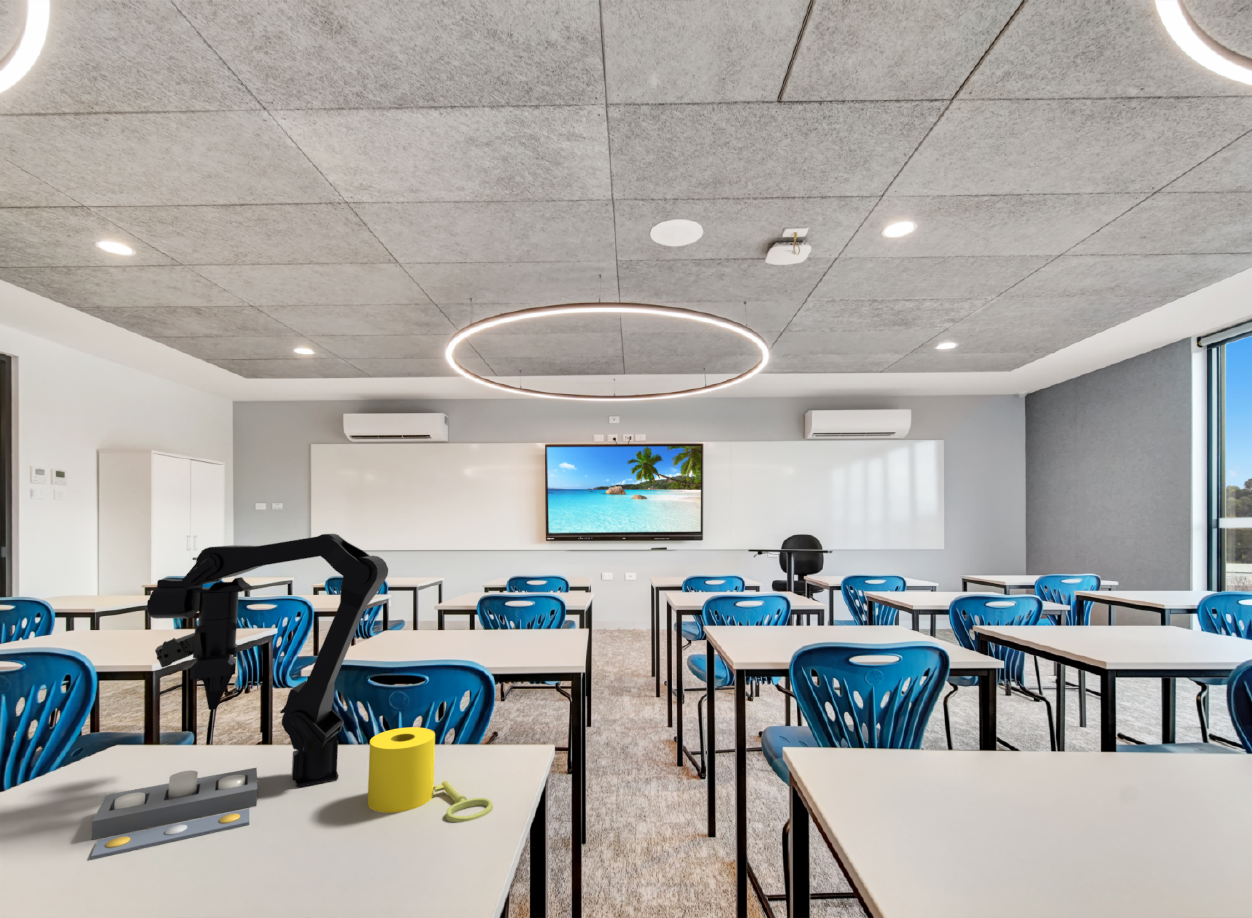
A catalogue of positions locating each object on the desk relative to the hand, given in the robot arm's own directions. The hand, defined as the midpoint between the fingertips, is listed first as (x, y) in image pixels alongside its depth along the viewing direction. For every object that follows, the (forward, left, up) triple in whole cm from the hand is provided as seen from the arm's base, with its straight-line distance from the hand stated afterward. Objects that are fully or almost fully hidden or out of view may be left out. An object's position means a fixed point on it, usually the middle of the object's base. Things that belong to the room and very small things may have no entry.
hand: (212, 709), depth 108 cm
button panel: (+3, +10, -12) cm, 16 cm away
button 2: (-3, +10, -12) cm, 16 cm away
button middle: (+3, +10, -10) cm, 14 cm away
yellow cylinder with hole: (-27, +24, -12) cm, 38 cm away
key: (-34, +32, -13) cm, 48 cm away
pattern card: (+3, +19, -12) cm, 23 cm away
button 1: (+9, +10, -12) cm, 18 cm away
